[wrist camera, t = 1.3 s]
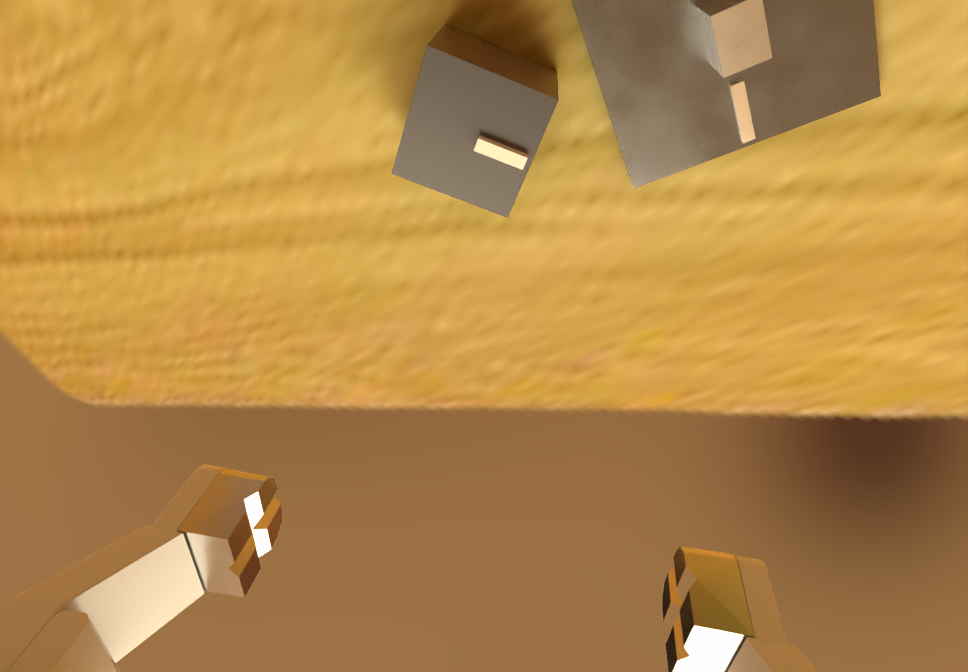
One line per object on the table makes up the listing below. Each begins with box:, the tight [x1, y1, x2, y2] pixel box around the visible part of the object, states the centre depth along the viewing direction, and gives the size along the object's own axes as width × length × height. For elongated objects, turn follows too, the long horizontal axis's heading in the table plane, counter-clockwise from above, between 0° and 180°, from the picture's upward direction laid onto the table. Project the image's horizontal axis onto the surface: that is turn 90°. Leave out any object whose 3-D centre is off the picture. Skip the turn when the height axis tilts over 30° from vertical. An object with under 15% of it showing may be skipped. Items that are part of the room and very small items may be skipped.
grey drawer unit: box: [392, 25, 558, 218], centre depth 29 cm, size 6×6×6 cm
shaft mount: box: [572, 0, 881, 188], centre depth 26 cm, size 12×12×4 cm
